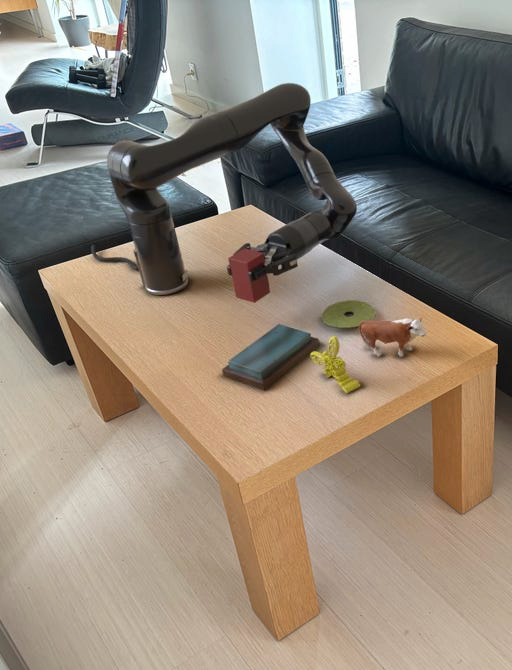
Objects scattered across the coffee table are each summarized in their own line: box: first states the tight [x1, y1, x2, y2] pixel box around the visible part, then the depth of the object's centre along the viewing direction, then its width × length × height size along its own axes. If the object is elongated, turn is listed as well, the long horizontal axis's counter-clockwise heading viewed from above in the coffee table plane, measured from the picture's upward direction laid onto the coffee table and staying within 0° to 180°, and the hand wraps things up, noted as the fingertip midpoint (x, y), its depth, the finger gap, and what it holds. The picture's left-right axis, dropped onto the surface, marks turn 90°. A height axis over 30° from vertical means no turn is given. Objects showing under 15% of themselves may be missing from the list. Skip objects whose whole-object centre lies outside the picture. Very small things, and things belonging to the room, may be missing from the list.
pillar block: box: [228, 249, 271, 304], centre depth 149 cm, size 5×5×9 cm
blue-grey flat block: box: [221, 323, 320, 391], centre depth 142 cm, size 10×17×3 cm, turn 151°
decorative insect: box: [309, 335, 361, 394], centre depth 135 cm, size 13×3×10 cm
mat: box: [321, 299, 376, 329], centre depth 154 cm, size 11×11×2 cm
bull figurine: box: [358, 317, 427, 358], centre depth 142 cm, size 4×13×8 cm, turn 78°
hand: (239, 274), depth 146 cm, fingers closed on pillar block, 5 cm apart
